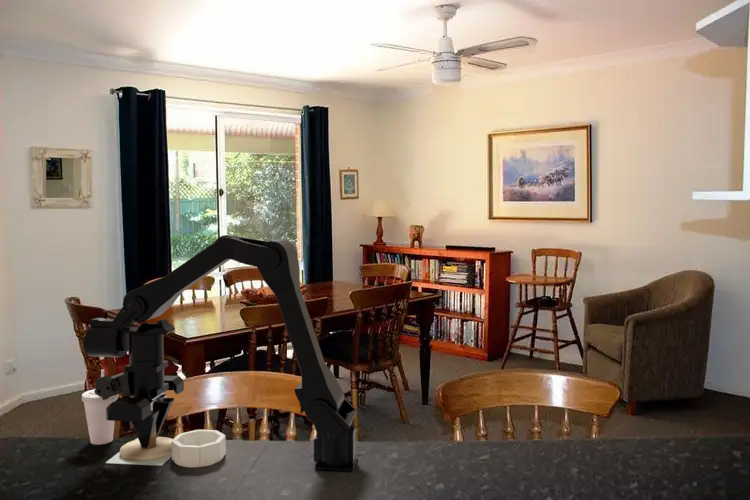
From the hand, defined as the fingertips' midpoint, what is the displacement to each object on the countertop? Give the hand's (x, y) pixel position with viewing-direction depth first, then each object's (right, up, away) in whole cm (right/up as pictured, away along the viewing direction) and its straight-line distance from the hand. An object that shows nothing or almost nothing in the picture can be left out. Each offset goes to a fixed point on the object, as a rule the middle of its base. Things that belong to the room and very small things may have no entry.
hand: (148, 444), depth 117 cm
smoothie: (-11, -2, +5) cm, 12 cm away
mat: (0, -2, 0) cm, 2 cm away
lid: (0, -1, 0) cm, 1 cm away
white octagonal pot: (+10, -2, -3) cm, 10 cm away
